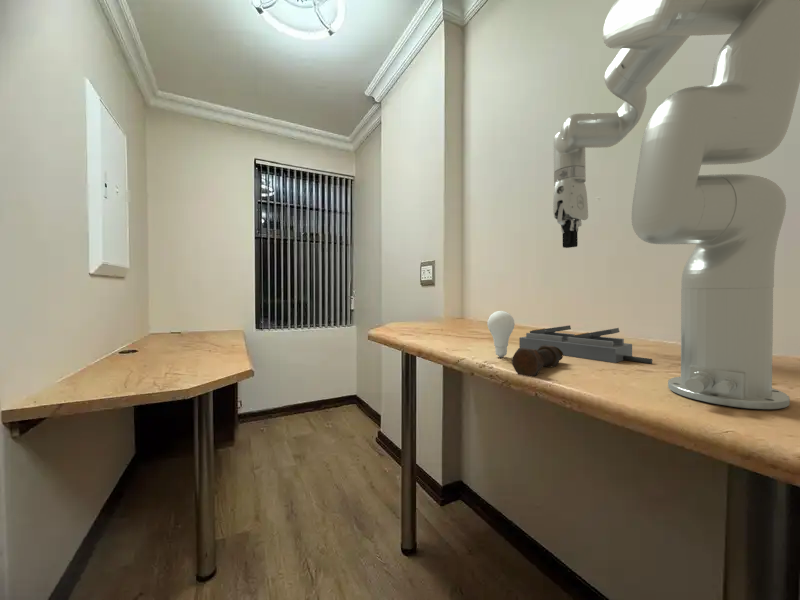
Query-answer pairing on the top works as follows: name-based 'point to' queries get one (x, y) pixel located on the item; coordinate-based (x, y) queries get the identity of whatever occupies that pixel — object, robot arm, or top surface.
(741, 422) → the top surface
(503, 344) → the lightbulb
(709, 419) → the top surface
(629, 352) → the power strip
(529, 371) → the bolt
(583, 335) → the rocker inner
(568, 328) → the rocker outer
